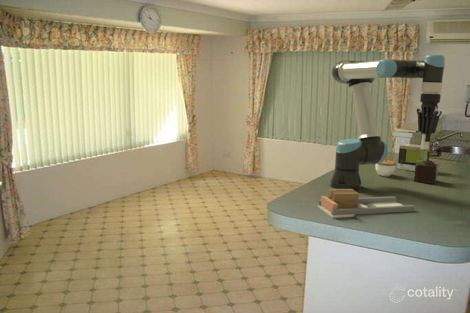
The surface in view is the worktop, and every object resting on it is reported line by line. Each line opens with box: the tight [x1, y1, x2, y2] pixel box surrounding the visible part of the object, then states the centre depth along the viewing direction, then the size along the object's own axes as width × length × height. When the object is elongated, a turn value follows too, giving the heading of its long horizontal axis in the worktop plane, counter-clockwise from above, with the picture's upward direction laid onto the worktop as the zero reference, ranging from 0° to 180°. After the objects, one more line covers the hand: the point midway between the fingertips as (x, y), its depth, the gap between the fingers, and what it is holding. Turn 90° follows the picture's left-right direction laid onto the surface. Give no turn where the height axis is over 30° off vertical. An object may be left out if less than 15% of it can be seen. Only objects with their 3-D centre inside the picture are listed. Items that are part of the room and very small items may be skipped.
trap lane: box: [317, 195, 416, 219], centre depth 170 cm, size 14×36×5 cm, turn 103°
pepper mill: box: [413, 146, 444, 185], centre depth 222 cm, size 16×11×18 cm
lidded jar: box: [374, 158, 397, 177], centre depth 232 cm, size 11×11×9 cm
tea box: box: [397, 143, 431, 172], centre depth 248 cm, size 15×10×15 cm
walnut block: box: [327, 188, 360, 209], centre depth 169 cm, size 7×10×7 cm
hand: (424, 149), depth 176 cm, fingers closed
